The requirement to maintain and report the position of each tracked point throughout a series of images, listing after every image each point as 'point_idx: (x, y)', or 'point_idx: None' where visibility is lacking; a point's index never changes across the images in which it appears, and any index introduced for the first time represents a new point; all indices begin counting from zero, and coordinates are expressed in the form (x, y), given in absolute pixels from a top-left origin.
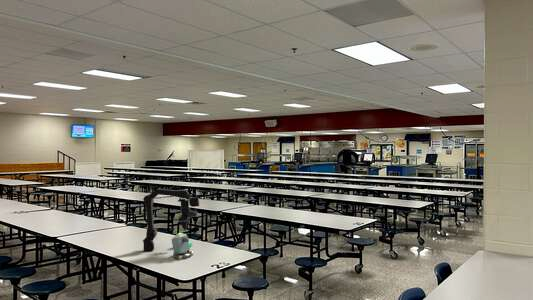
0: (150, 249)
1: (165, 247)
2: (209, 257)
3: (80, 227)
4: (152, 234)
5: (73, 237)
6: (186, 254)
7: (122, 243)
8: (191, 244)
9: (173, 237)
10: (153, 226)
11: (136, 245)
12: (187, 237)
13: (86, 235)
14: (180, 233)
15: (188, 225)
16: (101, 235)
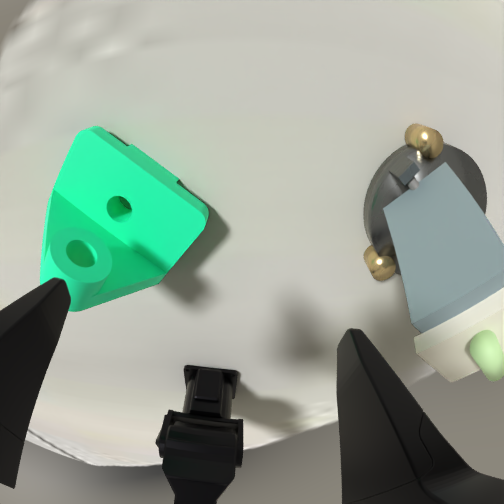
0: (227, 383)
1: (142, 316)
2: (486, 31)
3: None
4: (235, 462)
5: (84, 456)
6: (466, 188)
7: (105, 422)
8: (106, 135)
9: (467, 372)
10: (188, 500)
11: (122, 403)
12: (501, 242)
13: (61, 443)
14: (500, 354)
15: (24, 303)
16: (48, 429)
